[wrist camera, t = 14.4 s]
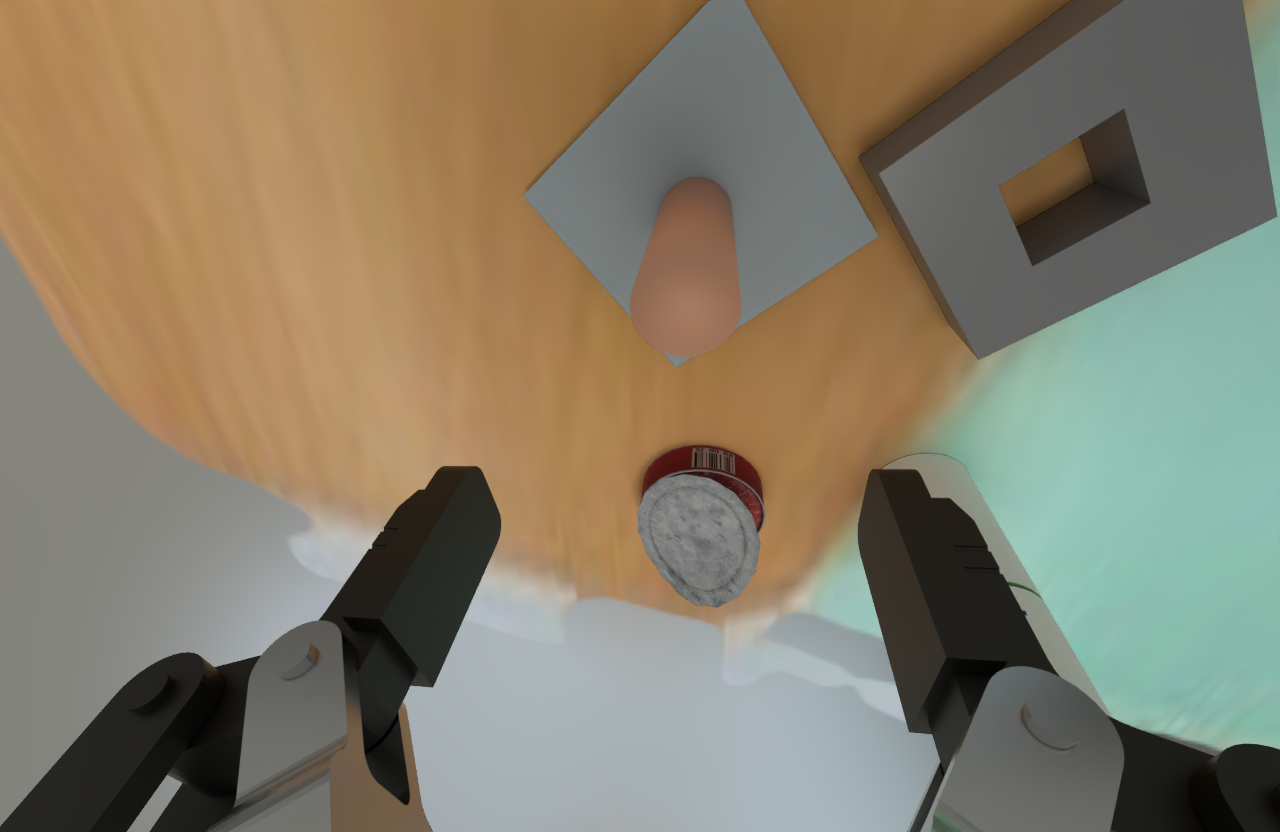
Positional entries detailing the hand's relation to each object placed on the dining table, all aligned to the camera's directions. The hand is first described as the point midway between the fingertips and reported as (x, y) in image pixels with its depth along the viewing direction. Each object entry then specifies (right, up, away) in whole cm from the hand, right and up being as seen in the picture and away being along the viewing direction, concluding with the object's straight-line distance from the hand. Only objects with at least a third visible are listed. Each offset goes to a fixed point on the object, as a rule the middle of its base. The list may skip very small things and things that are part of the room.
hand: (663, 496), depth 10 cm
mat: (+3, +13, +17) cm, 22 cm away
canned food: (+5, -4, +31) cm, 32 cm away
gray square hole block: (+19, +14, +15) cm, 28 cm away
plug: (+3, +13, +17) cm, 21 cm away
